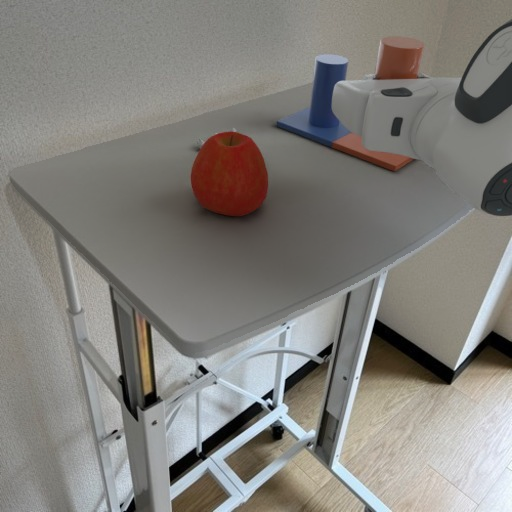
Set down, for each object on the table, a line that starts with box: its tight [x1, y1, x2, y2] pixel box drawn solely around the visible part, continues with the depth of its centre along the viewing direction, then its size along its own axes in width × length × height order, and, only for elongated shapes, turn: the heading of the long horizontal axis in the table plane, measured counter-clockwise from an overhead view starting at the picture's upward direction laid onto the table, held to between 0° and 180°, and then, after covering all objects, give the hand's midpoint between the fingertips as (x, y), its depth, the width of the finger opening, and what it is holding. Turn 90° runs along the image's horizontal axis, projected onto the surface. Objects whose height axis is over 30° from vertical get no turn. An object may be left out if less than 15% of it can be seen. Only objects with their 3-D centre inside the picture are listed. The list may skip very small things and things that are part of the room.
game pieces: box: [196, 127, 238, 150], centre depth 90 cm, size 8×2×2 cm, turn 128°
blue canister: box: [309, 53, 349, 128], centre depth 95 cm, size 6×6×11 cm
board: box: [276, 106, 414, 172], centre depth 97 cm, size 24×16×1 cm, turn 49°
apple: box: [189, 130, 269, 217], centre depth 72 cm, size 10×10×10 cm
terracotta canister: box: [374, 35, 426, 80], centre depth 72 cm, size 6×6×11 cm
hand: (391, 79), depth 73 cm, fingers closed on terracotta canister, 5 cm apart
